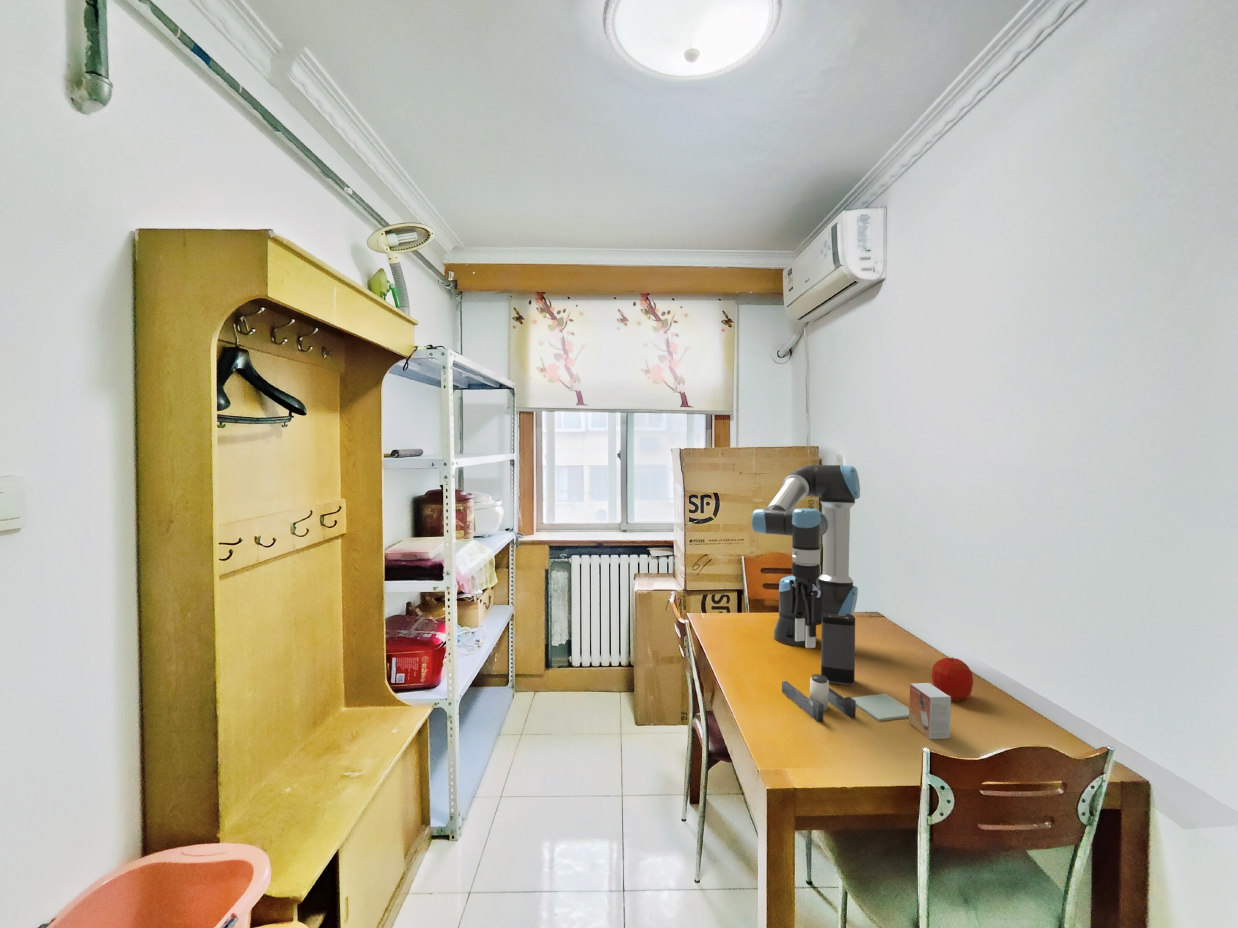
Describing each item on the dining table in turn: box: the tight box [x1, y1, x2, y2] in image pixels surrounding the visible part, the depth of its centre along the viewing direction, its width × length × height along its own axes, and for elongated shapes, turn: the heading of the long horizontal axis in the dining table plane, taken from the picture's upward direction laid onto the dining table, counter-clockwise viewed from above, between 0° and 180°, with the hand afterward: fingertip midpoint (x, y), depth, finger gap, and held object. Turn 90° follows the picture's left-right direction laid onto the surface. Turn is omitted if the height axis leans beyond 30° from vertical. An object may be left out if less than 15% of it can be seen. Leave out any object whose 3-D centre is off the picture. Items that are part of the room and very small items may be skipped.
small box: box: [908, 682, 952, 740], centre depth 134 cm, size 8×6×10 cm
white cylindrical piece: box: [808, 673, 830, 711], centre depth 147 cm, size 5×5×8 cm
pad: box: [851, 693, 909, 722], centre depth 146 cm, size 12×12×1 cm
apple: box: [931, 657, 974, 702], centre depth 152 cm, size 10×10×12 cm
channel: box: [781, 680, 857, 723], centre depth 148 cm, size 18×11×4 cm, turn 13°
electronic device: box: [820, 612, 856, 686], centre depth 163 cm, size 9×6×20 cm, turn 71°
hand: (805, 643), depth 154 cm, fingers open, 5 cm apart
